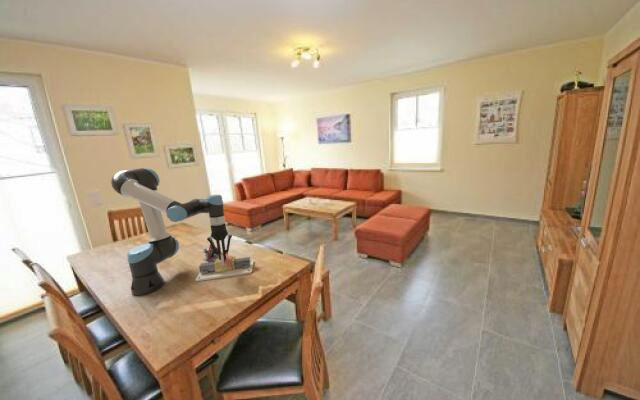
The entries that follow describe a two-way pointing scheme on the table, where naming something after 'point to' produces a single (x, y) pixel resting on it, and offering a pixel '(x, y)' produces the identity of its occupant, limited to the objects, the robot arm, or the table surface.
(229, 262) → the lever
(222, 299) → the table surface
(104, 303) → the table surface
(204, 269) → the pipe valve
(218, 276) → the mount board
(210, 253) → the brake caliper
